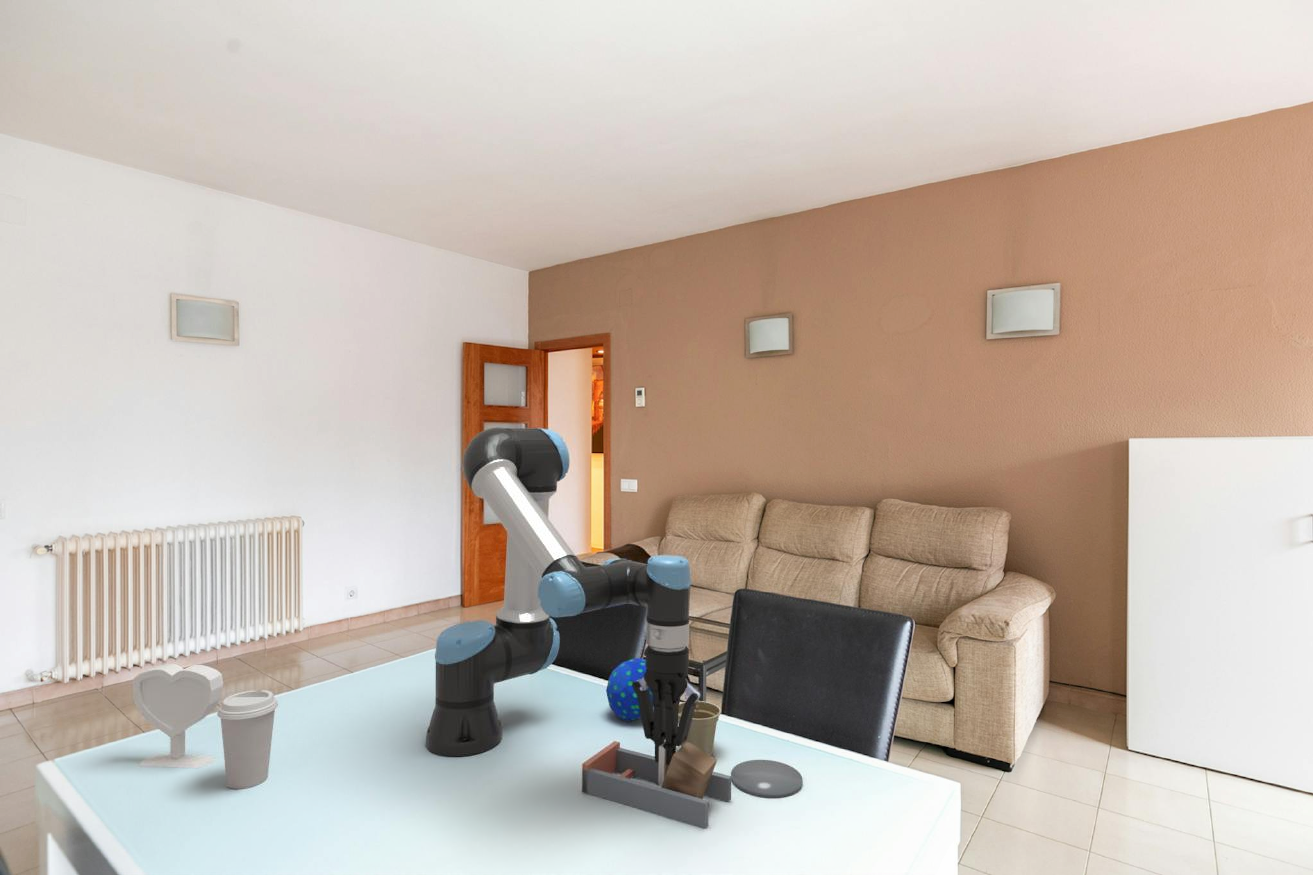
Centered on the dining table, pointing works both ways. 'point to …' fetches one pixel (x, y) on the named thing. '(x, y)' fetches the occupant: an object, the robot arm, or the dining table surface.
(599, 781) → the channel
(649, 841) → the dining table surface
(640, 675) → the mushroom
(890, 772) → the dining table surface
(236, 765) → the coffee cup
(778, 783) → the coaster
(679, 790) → the block
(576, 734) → the dining table surface
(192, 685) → the heart sculpture
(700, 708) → the flower pot
